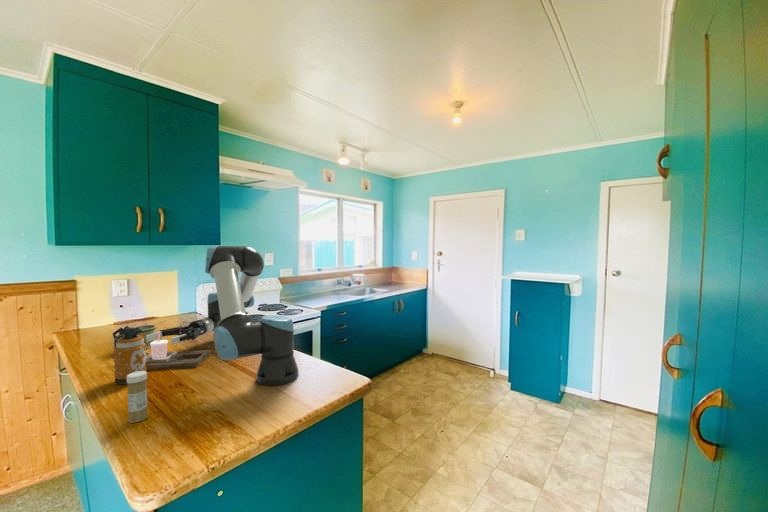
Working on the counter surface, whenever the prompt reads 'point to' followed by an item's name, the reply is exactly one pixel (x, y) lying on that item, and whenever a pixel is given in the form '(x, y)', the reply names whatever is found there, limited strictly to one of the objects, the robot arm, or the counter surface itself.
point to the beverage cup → (159, 348)
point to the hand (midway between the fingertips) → (159, 340)
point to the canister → (128, 353)
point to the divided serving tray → (177, 360)
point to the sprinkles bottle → (137, 396)
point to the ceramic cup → (146, 333)
